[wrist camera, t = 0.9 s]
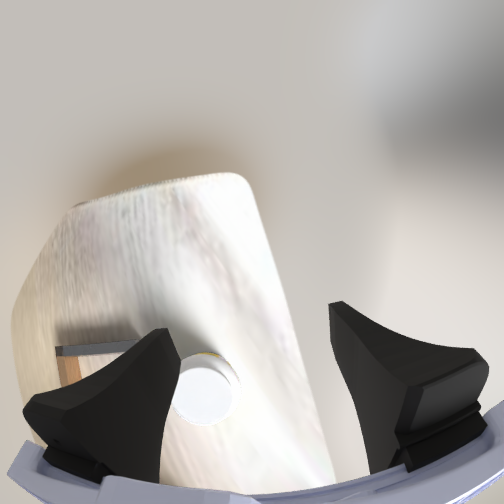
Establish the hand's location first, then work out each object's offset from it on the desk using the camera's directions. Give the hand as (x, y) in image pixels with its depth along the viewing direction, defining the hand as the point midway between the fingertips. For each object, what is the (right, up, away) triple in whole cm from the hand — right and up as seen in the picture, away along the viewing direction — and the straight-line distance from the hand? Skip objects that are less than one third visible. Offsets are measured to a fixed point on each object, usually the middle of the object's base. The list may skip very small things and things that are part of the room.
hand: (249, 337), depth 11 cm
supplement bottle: (-4, -9, +13) cm, 16 cm away
